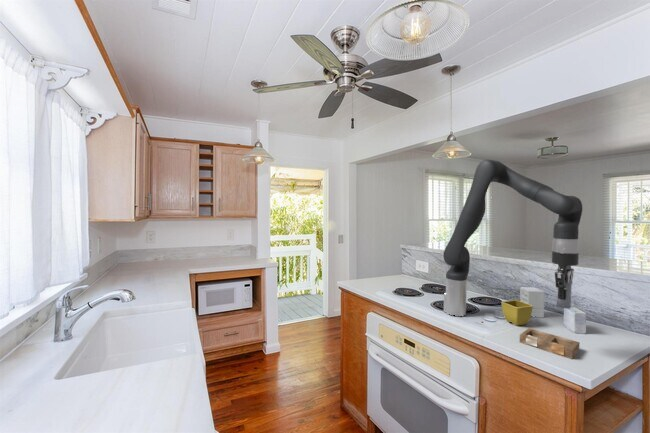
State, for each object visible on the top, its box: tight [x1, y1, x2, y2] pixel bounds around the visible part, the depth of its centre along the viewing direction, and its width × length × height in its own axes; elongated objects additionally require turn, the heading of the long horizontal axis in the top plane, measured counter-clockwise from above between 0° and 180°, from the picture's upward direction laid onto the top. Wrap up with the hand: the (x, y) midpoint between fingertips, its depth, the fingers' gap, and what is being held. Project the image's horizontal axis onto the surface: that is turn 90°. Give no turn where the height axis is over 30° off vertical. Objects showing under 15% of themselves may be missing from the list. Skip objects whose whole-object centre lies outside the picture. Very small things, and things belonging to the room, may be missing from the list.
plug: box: [556, 279, 573, 309], centre depth 109 cm, size 4×4×10 cm
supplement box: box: [519, 286, 546, 318], centre depth 145 cm, size 7×7×13 cm
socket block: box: [519, 327, 580, 360], centre depth 113 cm, size 16×10×3 cm, turn 39°
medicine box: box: [563, 306, 587, 335], centre depth 128 cm, size 8×4×9 cm, turn 168°
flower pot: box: [500, 299, 533, 327], centre depth 135 cm, size 9×9×9 cm
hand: (563, 297), depth 109 cm, fingers closed on plug, 4 cm apart
